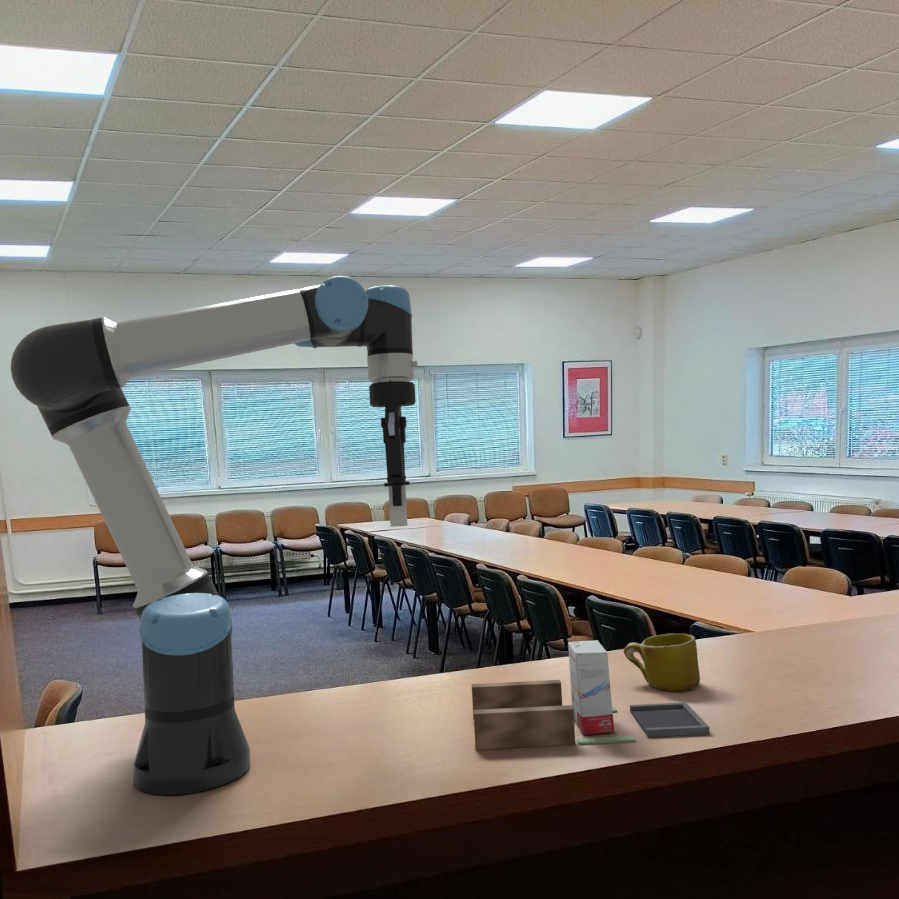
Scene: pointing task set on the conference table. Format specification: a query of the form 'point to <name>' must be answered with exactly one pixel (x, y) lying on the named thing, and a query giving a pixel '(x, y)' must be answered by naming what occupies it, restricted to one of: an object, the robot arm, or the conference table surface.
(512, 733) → the tunnel walls
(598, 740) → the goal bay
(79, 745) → the conference table surface
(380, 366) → the robot arm
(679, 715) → the grey flat tray
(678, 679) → the mug
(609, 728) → the ink box
